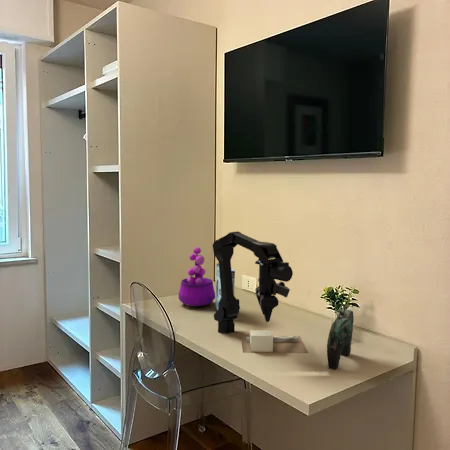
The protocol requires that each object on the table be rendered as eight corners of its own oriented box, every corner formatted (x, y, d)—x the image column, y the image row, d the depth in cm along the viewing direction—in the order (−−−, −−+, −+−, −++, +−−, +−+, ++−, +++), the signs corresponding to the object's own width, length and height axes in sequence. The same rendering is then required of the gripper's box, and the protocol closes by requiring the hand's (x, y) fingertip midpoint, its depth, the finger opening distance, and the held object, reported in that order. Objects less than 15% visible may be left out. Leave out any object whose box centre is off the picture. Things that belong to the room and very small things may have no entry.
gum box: (215, 308, 230) (215, 263, 228) (225, 308, 231) (225, 262, 229) (223, 320, 211) (224, 270, 209) (234, 319, 212) (235, 270, 210)
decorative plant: (222, 304, 238) (223, 246, 235) (197, 312, 224) (197, 250, 221) (196, 298, 250) (196, 243, 247) (170, 305, 236) (170, 246, 233)
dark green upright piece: (339, 350, 175) (341, 298, 173) (356, 353, 172) (358, 300, 170) (322, 368, 158) (324, 311, 156) (341, 372, 155) (343, 314, 153)
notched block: (251, 351, 169) (251, 335, 169) (249, 345, 175) (250, 330, 175) (272, 351, 170) (273, 335, 169) (270, 345, 176) (271, 330, 175)
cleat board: (242, 355, 168) (243, 348, 168) (240, 338, 186) (240, 332, 186) (308, 356, 169) (308, 348, 169) (299, 339, 187) (300, 332, 186)
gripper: (293, 282, 163) (292, 325, 165) (283, 272, 182) (283, 311, 183) (261, 282, 163) (260, 325, 164) (255, 272, 181) (255, 311, 183)
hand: (266, 318), depth 174 cm, fingers open, 9 cm apart
